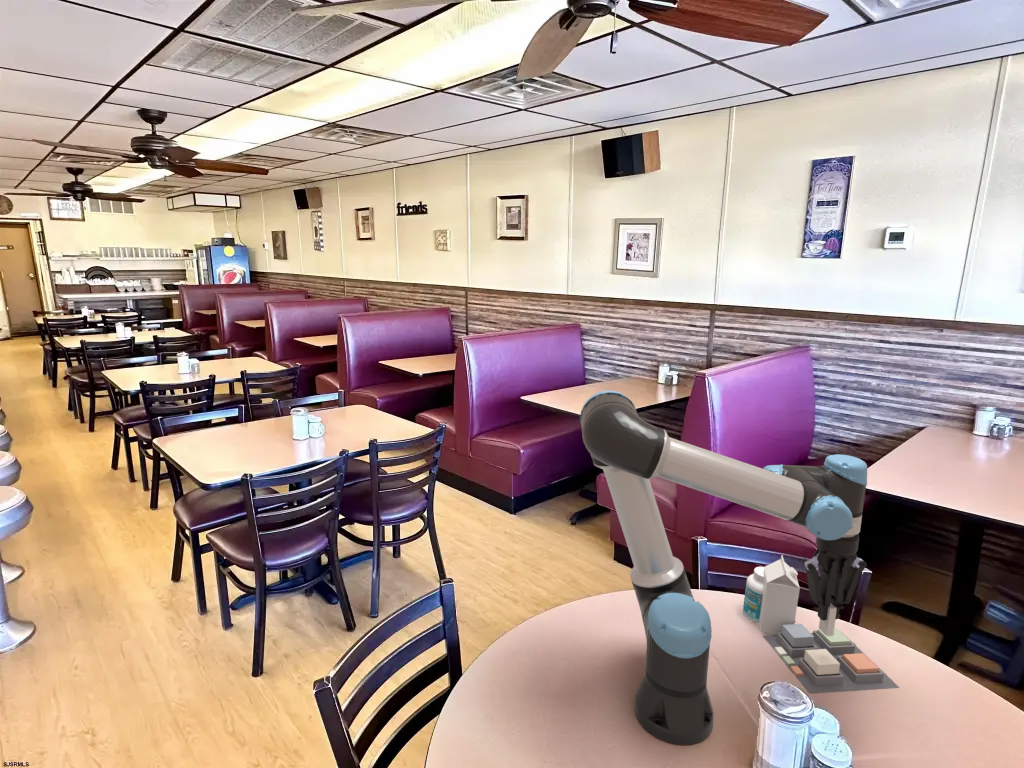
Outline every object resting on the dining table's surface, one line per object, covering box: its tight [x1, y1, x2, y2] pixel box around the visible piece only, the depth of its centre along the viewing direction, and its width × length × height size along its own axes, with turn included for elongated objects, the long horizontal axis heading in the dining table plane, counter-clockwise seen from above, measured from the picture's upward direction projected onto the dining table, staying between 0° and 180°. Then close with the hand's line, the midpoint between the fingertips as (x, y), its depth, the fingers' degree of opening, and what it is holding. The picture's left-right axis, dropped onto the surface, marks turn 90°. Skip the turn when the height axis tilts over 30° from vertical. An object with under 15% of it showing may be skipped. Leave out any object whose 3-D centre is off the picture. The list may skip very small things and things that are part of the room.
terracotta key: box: [842, 652, 880, 674], centre depth 123 cm, size 5×5×2 cm
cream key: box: [804, 649, 840, 675], centre depth 122 cm, size 5×5×2 cm
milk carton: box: [758, 554, 801, 635], centre depth 138 cm, size 7×7×19 cm
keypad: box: [762, 629, 900, 695], centre depth 128 cm, size 20×19×3 cm
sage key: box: [817, 627, 852, 646], centre depth 132 cm, size 5×5×2 cm
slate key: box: [782, 623, 814, 647], centre depth 131 cm, size 5×5×2 cm
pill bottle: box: [742, 566, 765, 624], centre depth 143 cm, size 8×7×14 cm
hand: (825, 631), depth 121 cm, fingers closed
